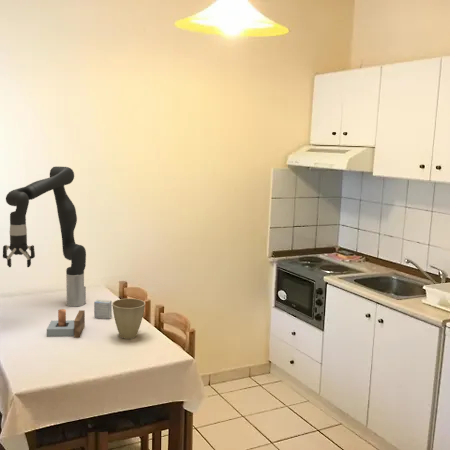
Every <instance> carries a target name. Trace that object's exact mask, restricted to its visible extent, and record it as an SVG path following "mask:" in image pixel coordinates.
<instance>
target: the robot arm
mask: <svg viewBox="0 0 450 450" xmlns="http://www.w3.org/2000/svg"><path fill="white" fill-rule="evenodd" d="M74 179H75V173H74V170H73V169H72V168H71V167H68V166H53V167H51V169H50V170H49V177H48V178H44V179H39V180H36V181H34V182H31V183H29V184H27V185H26V186H23V187H19V188H16V189H13V190H11V191H9V192H8V193H7V194H6V196H5V202H6V204H8V205H9V206H11V207H16V208H15V211H11V212H10V213H9V243H10V244H9V245H7V244H5V245H3V247H2V258H3V259H6V262H7V263H6V265H7V266H8V268H11V267H12V257H13V256H14V255H15V256H18V255H19V256H22V255H23V256H24V257H25V258H26V267H27V268H29V267H31V266H32V260H33V259H34V258H35V256H36V255H35V254H36V253H35V245H33V244H31V245H28V235H27V234H28V233H27V232H28V229H27V217H26V216H27V213H28V208H29V204H30V200H34V199H36V198H38V197H40V196H42V195H44V194H46V193H48V192H49V191H53V195H54V199H55V204H56V205H55V206H56V210H57V211H56V212H57V217H58V221H59V228H60V233H61V234H60V235H61V244H62V246H61V247H62V255H63V257H64V258H65V259H66V260H68V261H71V262H70V266H69V267H67V268H66V269H65V271H66V275H65V276H66V278H65V279H66V283H65V284H66V306H68V307H81V306H84V305H86V304H87V293H86V291H87V289H86V285H85V269H86V265H87V264H86V263H87V262H86V261H87V252H86V248H85V247H84V245H82V244H77V243H76V241H75V235H74V234H75V229H76V226H77V223H78V216H77V210H76V209H77V208H76V206H75V204H74V203H73V201H72V200H71V198H70V196H69V195H68V194H67V192H66V188H65V186H67V185H70V184H72V182H73V181H74ZM8 250H10V251H11V252H10V253H9V254H8ZM27 250H29V251H30V254H29V252H28V251H27Z"/></svg>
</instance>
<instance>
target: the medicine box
mask: <svg viewBox="0 0 450 450" xmlns="http://www.w3.org/2000/svg"><path fill="white" fill-rule="evenodd" d="M112 303H113V302H112V300H110V299H108V300H107V299H96V300H95V301H94V303H93V311H94V319H104V320H110V319H111V318H112V317H113V312H112V311H113V306H112Z"/></svg>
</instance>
